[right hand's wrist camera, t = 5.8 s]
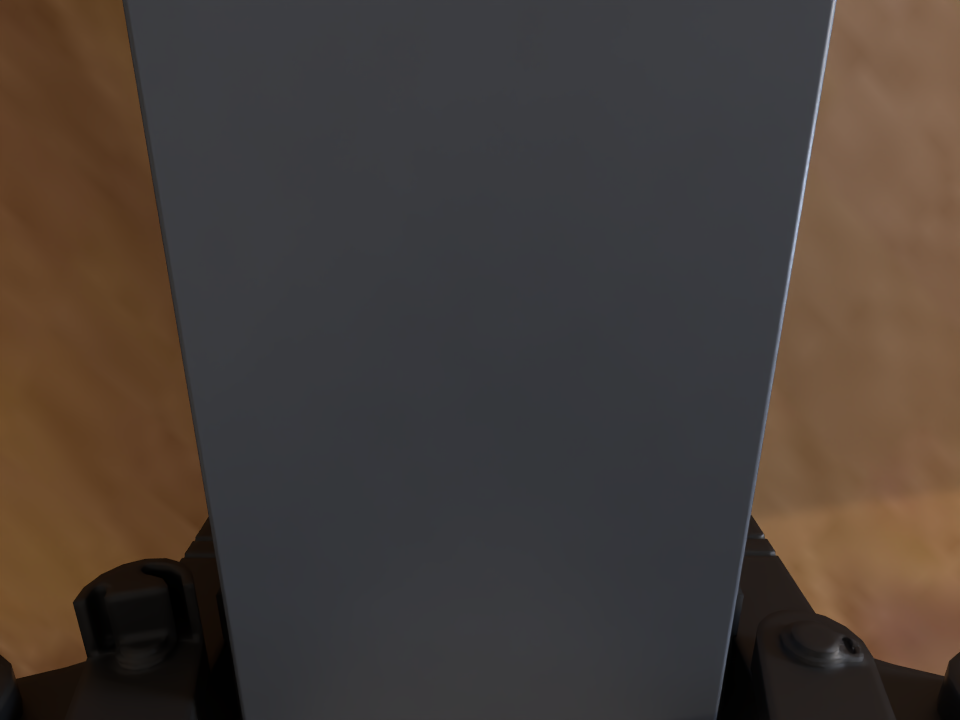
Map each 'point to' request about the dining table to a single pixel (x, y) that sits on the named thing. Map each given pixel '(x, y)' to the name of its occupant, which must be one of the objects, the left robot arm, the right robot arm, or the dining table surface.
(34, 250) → the dining table surface
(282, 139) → the board
